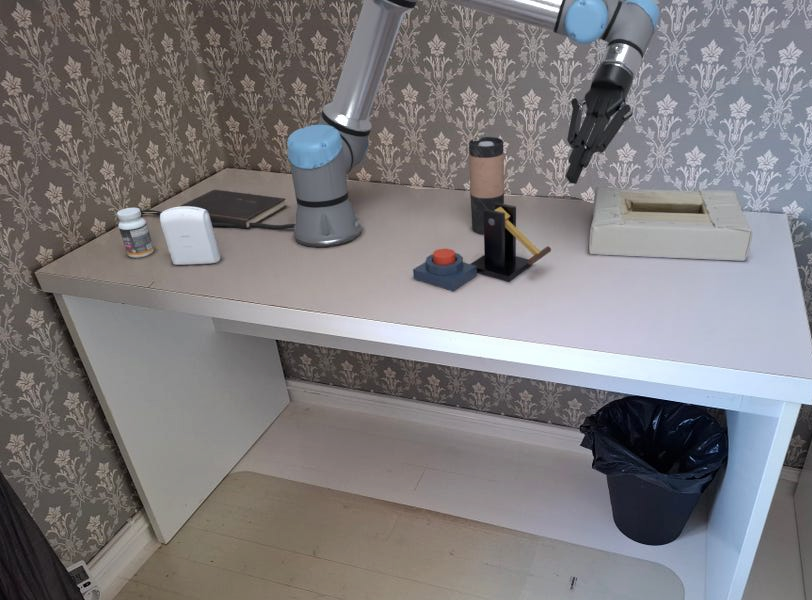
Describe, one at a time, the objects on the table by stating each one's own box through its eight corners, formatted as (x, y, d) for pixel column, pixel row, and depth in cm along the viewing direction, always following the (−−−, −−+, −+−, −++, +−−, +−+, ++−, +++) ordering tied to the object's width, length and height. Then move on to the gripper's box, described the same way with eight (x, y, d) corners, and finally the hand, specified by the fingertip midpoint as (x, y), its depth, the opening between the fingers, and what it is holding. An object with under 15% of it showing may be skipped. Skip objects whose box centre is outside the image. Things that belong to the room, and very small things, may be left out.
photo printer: (170, 266, 146) (153, 211, 139) (177, 258, 150) (161, 204, 143) (217, 265, 146) (203, 210, 139) (223, 256, 149) (210, 202, 143)
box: (588, 256, 143) (748, 262, 137) (590, 221, 139) (755, 226, 133) (590, 217, 162) (731, 220, 157) (592, 185, 158) (737, 187, 153)
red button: (428, 262, 135) (428, 254, 134) (442, 254, 137) (441, 246, 136) (446, 267, 132) (446, 259, 131) (459, 259, 135) (459, 251, 134)
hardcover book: (216, 197, 182) (214, 189, 181) (286, 207, 174) (285, 198, 173) (173, 218, 170) (170, 210, 169) (247, 230, 162) (245, 220, 161)
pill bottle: (123, 254, 153) (109, 212, 147) (147, 246, 156) (135, 204, 151) (134, 260, 149) (120, 218, 144) (159, 252, 153) (146, 210, 147)
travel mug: (501, 235, 154) (500, 146, 143) (468, 234, 155) (465, 146, 144) (506, 223, 160) (506, 136, 149) (474, 221, 161) (472, 136, 150)
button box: (413, 279, 137) (412, 261, 135) (437, 264, 142) (436, 246, 140) (453, 291, 132) (452, 272, 129) (476, 275, 137) (476, 257, 135)
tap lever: (547, 255, 135) (553, 247, 134) (529, 268, 131) (535, 260, 129) (501, 211, 137) (507, 202, 135) (482, 222, 132) (487, 213, 131)
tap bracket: (532, 265, 140) (533, 205, 133) (508, 282, 134) (508, 220, 127) (492, 254, 145) (491, 197, 138) (467, 270, 139) (465, 210, 132)
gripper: (581, 59, 135) (535, 165, 133) (642, 64, 128) (595, 175, 126) (591, 82, 142) (548, 183, 140) (650, 88, 135) (606, 194, 133)
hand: (570, 179), depth 133 cm, fingers closed
